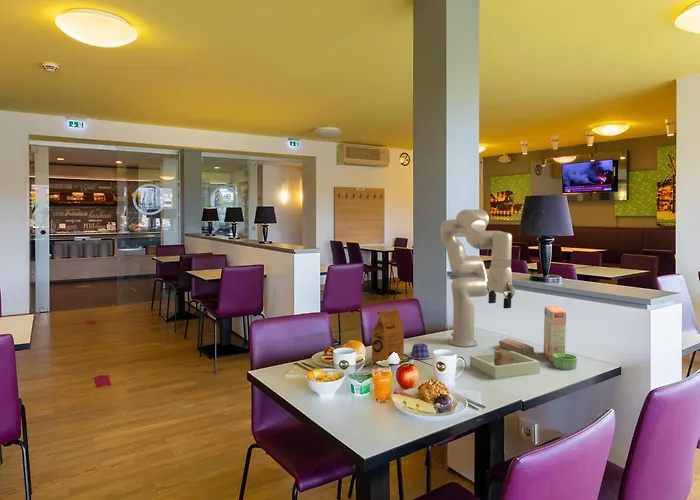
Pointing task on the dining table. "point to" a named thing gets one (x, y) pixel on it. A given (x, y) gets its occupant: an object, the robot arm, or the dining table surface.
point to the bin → (504, 366)
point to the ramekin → (564, 361)
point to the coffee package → (388, 336)
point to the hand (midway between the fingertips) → (499, 305)
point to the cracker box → (554, 331)
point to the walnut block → (503, 357)
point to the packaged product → (516, 347)
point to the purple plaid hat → (420, 352)
